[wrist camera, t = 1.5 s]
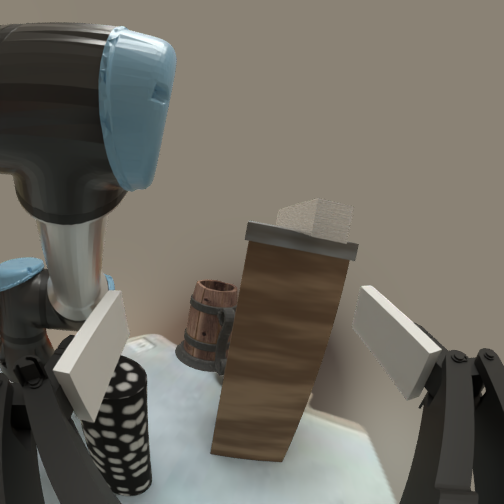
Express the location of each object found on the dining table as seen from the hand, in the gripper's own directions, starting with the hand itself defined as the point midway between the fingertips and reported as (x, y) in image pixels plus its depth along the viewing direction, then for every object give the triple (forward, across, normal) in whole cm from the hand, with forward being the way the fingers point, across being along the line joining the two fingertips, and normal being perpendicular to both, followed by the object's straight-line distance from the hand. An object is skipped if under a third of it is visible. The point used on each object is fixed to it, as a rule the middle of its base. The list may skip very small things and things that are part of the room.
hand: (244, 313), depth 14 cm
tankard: (+43, -4, -40) cm, 59 cm away
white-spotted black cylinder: (+4, -17, -31) cm, 36 cm away
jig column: (+16, +2, -37) cm, 40 cm away
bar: (+22, +9, -1) cm, 24 cm away
